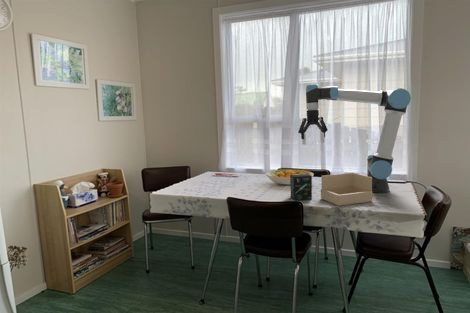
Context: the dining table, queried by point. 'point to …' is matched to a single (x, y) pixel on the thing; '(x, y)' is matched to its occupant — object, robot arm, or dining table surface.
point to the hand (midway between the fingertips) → (313, 143)
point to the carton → (346, 189)
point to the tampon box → (301, 186)
